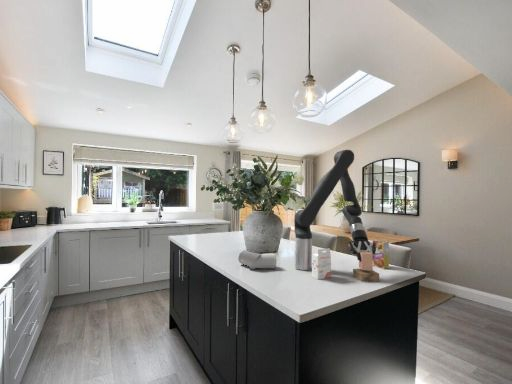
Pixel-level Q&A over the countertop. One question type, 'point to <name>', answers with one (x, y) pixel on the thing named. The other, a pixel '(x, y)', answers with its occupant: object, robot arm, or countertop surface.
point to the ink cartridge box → (321, 264)
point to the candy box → (381, 254)
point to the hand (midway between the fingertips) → (366, 260)
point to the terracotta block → (366, 261)
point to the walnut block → (365, 275)
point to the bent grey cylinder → (257, 260)
